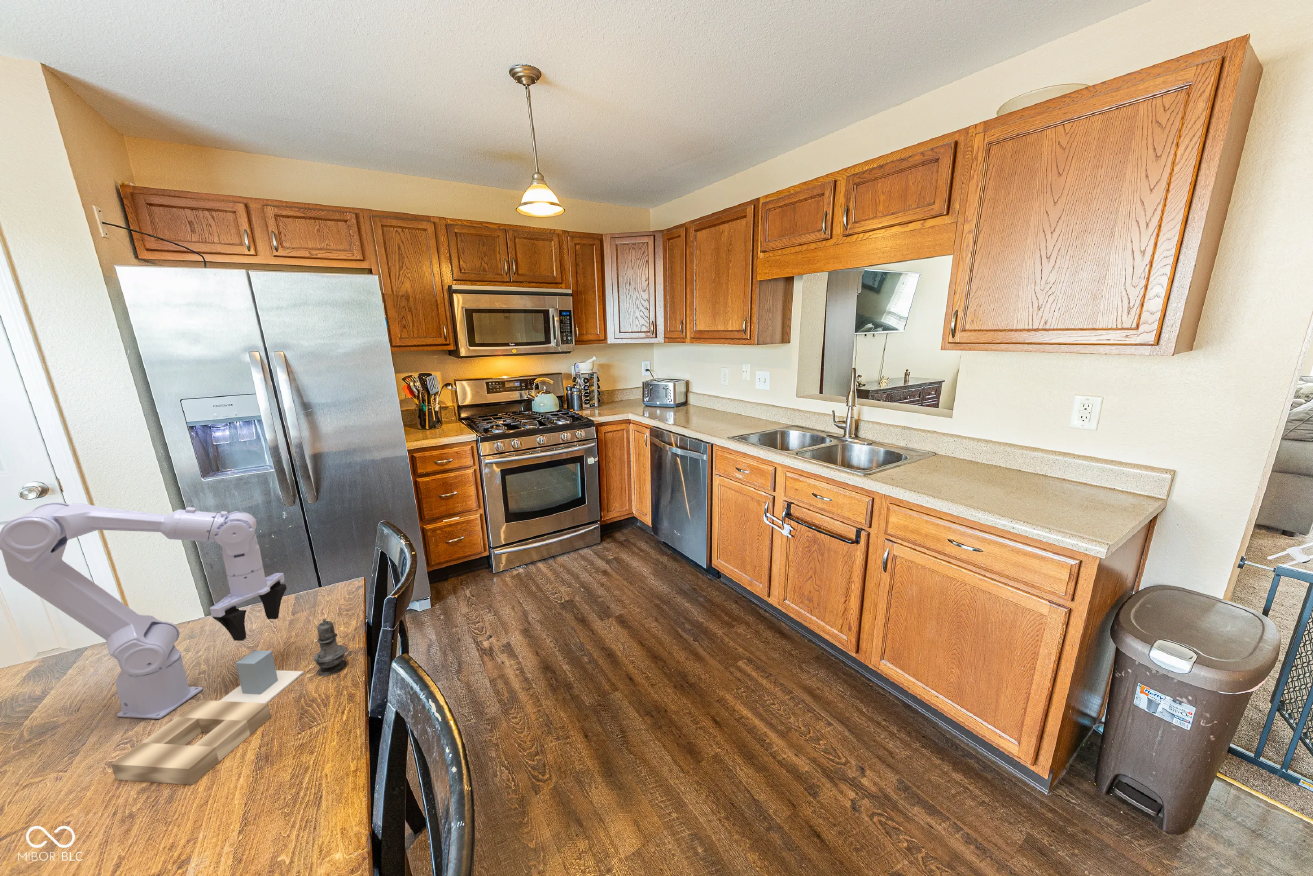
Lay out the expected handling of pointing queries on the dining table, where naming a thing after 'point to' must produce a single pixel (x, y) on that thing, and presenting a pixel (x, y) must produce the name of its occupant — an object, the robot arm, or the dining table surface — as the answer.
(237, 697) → the coaster
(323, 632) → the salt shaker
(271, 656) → the peg
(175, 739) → the pocket board
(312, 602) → the dining table surface
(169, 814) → the dining table surface
